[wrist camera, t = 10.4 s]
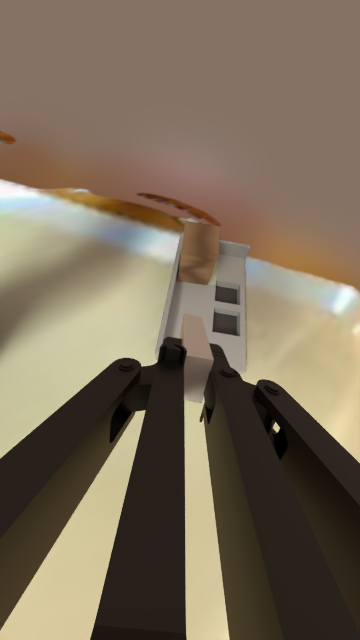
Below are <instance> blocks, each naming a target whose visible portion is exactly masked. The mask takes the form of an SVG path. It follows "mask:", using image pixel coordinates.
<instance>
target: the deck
mask: <svg viewBox="0 0 360 640" xmlns="http://www.w3.org/2000/svg"><path fill="white" fill-rule="evenodd" d="M183 236H184V233H181V235H180V240H179V244H178V249H177V253H176V258H175V263H174V267H173V272H172V276H171V281H170V285H169V290H168V295H167V299H166V304H165V308H164V313H163V317H162V322H161V327H160V331H159V336H158V340H157V345H156V350H155V354H156V359H157V360H158V356H159V349H160V346H161V345H162V344H163V340H164V339H165V338H166V337H167V336H168V337H174V338H179V335H180V330H181V325H182V320H183V315H184V314H189V315H195V316H200V317H202V320H203V324H204V327H205V331H206V334H207V338H208V342H209V343H212V344H218V345H219V346H220V347H221V348H222V349H223V351H224V354H225V355H226V358H227V360H228V363H229V365H230V367H231V368H233V369H235V370H236V371H237V372H238V373H239V374H243V373H245V372H246V319H245V257H246V255H247V253H248V251H249V250H250V248H251V247H250V245H247V244H241V243H236V242H230V241H224V240H219V255H218V258H217V261H216V263H215V266H214V269H213V271H212V274H211V277H210V280H209V282H208V285H201V284H194V283H187V282H180V281H178V274H179V265H180V257H181V249H182V242H183Z"/></svg>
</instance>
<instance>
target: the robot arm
mask: <svg viewBox="0 0 360 640" xmlns="http://www.w3.org/2000/svg"><path fill="white" fill-rule="evenodd" d="M203 396H204V399H205V403H204V406H203V410H202V413H201V417H200V422H202V419H203V417H204V426H205V434H206V443H207V451H208V460H209V468H210V477H211V485H212V493H213V502H214V510H215V519H216V527H217V536H218V544H219V553H220V561H221V570H222V578H223V587H224V595H225V604H226V612H227V621H228V629H229V638H230V640H360V463H359V462H358V461H357V460H356V459H355V458H354V457H353V456H352V455H351V454H350V453H349V452H348V451H347V450H346V449H345V448H343V447H342V446H341V445H340V444H339V443H338V442H337V441H336V440H335V439H334V438H333V437H332V436H331V435H330V434H329V433H328V432H327V431H326V430H325V429H324V428H323V427H322V426H321V425H320V424H319V423H318V422H317V421H316V420H315V419H314V418H313V417H312V416H311V415H310V414H309V413H308V412H307V411H306V410H305V409H304V408H303V407H302V406H301V405H300V404H299V403H298V402H297V401H296V400H295V399H293V398H292V397H291V396H290V395H289V394H288V393H287V392H286V391H285V390H284V389H283V388H282V387H281V386H279V385H278V384H276V383H275V382H273V381H270V380H264V379H263V380H259V381H258V382H257V385H253V384H250V383H247V382H245V381H243V380H242V378H241V376H240V374H239V373H238V372H237V371H236V370H235V369H233V368H231V367H230V365H229V363H228V360H227V358H226V355H225V354H224V351H223V349H222V348H221V347H220V346H219V345H218V344H212V343H209V342H208V338H207V334H206V331H205V327H204V324H203V320H202V317H200V316H195V315H189V314H184V315H183V320H182V325H181V330H180V335H179V338H174V337H168V336H167V337H166V338H165V339H164V340H163V344H162V345H161V346H160V349H159V356H158V362H157V363H156V364H154V365H151V366H143V367H141V364H140V363H139V361H137V360H135V359H132V358H121V359H118V360H116V361H114V362H113V363H112V364H110V365H109V366H108V367H107V368H106V369H105V370H103V371H102V372H101V373H100V374H99V375H98V376H96V377H95V378H94V379H93V380H92V381H91V382H89V383H88V384H87V385H86V386H85V387H84V388H82V389H81V390H80V391H79V392H78V393H77V394H75V395H74V396H73V397H72V398H71V399H70V400H68V401H67V402H66V403H65V404H64V405H63V406H61V407H60V408H59V409H58V410H57V411H56V412H54V413H53V414H52V415H51V416H50V417H49V418H47V419H46V420H45V421H44V422H43V423H42V424H40V425H39V426H38V427H37V428H36V429H34V430H33V431H32V432H31V433H30V434H29V435H27V436H26V437H25V438H24V439H23V440H22V441H20V442H19V443H18V444H17V445H16V446H15V447H13V448H12V449H11V450H10V451H9V452H8V453H6V454H5V455H4V456H3V457H2V458H1V459H0V630H1V628H2V627H3V625H4V623H5V622H6V620H7V619H8V617H9V615H10V614H11V612H12V611H13V609H14V607H15V606H16V604H17V603H18V601H19V599H20V598H21V596H22V595H23V593H24V591H25V590H26V588H27V587H28V585H29V583H30V582H31V580H32V579H33V577H34V575H35V574H36V572H37V570H38V569H39V567H40V566H41V564H42V562H43V561H44V559H45V558H46V556H47V554H48V553H49V551H50V550H51V548H52V546H53V545H54V543H55V542H56V540H57V538H58V537H59V535H60V534H61V532H62V530H63V529H64V527H65V526H66V524H67V522H68V521H69V519H70V518H71V516H72V514H73V513H74V511H75V510H76V508H77V506H78V505H79V503H80V501H81V500H82V498H83V497H84V495H85V493H86V492H87V490H88V489H89V487H90V485H91V484H92V482H93V481H94V479H95V477H96V476H97V474H98V473H99V471H100V469H101V468H102V466H103V465H104V463H105V461H106V460H107V458H108V457H109V455H110V453H111V452H112V450H113V449H114V447H115V445H116V444H117V442H118V440H119V439H120V437H121V436H122V434H123V432H124V431H125V429H126V428H127V426H128V424H129V423H130V421H131V420H132V418H133V416H134V415H135V412H136V411H142V410H146V412H145V416H144V420H143V424H142V428H141V433H140V437H139V441H138V445H137V449H136V453H135V458H134V462H133V466H132V470H131V474H130V478H129V483H128V487H127V491H126V495H125V499H124V503H123V508H122V512H121V516H120V520H119V524H118V528H117V533H116V537H115V541H114V545H113V549H112V553H111V558H110V562H109V566H108V570H107V574H106V579H105V583H104V587H103V591H102V595H101V599H100V604H99V608H98V612H97V616H96V620H95V624H94V628H93V631H92V635H91V639H90V640H186V605H185V448H184V400H186V401H193V402H199V403H202V400H203ZM275 422H276V423H277V424H278V425H279V427H280V430H279V432H278V433H277V432H276V431H275V430H274V429H273V426H274V424H275Z"/></svg>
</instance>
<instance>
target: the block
mask: <svg viewBox="0 0 360 640" xmlns="http://www.w3.org/2000/svg"><path fill="white" fill-rule="evenodd" d="M218 255H219V226H214V225H208V224H201V223H195V222H188V221H186V222H185V229H184V236H183V242H182V249H181V257H180V265H179V274H178V281H180V282H187V283H194V284H201V285H208V282H209V280H210V277H211V274H212V271H213V269H214V266H215V263H216V261H217V258H218Z"/></svg>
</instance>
